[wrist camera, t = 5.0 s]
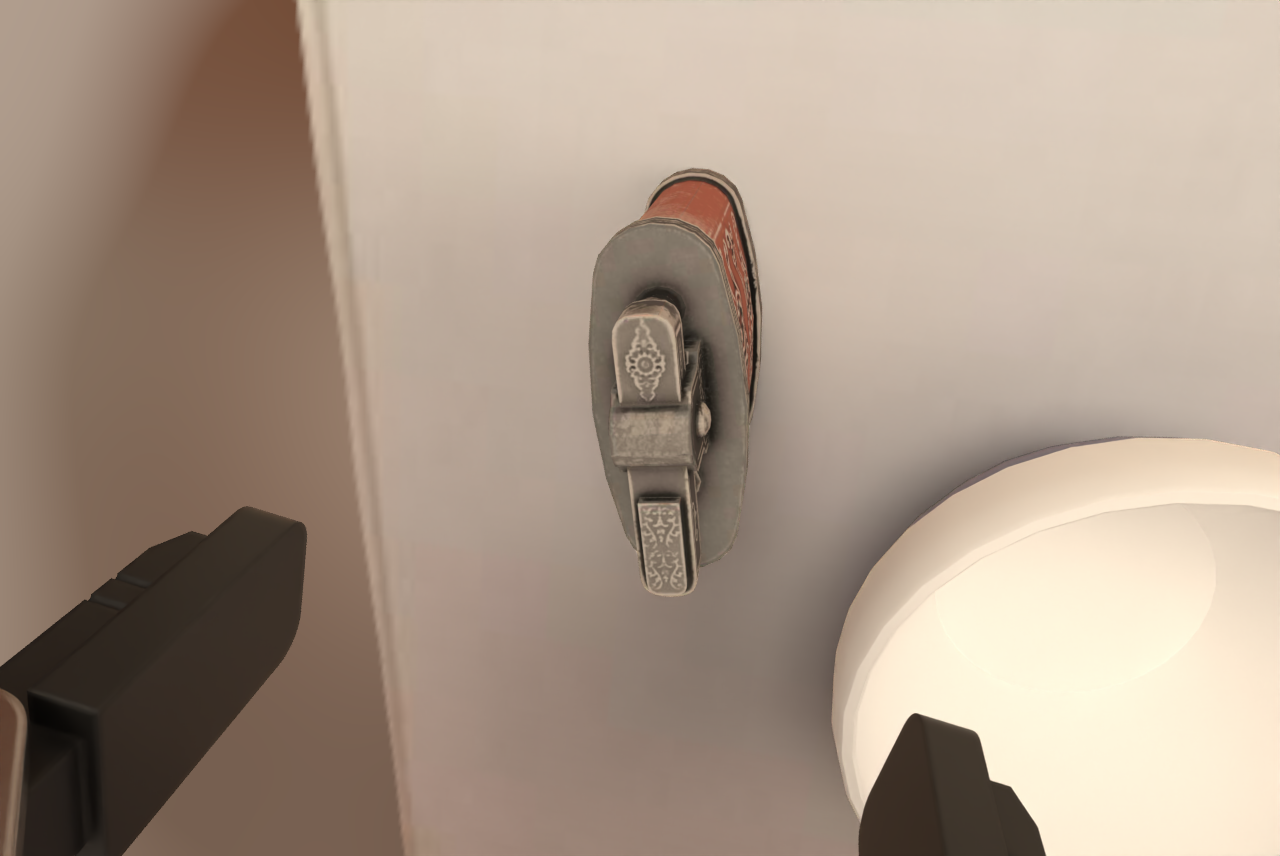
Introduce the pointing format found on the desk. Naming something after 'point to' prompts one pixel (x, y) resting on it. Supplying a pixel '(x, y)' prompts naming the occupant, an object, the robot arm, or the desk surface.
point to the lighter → (677, 374)
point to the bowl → (1089, 644)
